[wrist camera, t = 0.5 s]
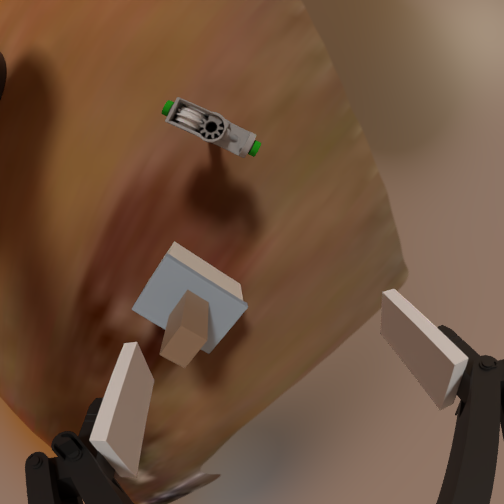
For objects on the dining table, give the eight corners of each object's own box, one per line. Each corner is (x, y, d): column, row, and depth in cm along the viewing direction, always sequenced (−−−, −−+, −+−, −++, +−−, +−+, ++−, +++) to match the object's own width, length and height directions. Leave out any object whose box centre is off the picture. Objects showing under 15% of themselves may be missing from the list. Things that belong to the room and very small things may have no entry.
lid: (134, 302, 38) (114, 346, 29) (168, 250, 36) (152, 285, 27) (209, 346, 41) (208, 395, 32) (246, 300, 39) (255, 345, 30)
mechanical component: (243, 160, 39) (251, 163, 29) (171, 126, 36) (156, 119, 27) (254, 139, 38) (265, 136, 29) (182, 106, 36) (170, 92, 26)
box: (145, 285, 43) (136, 305, 37) (174, 241, 41) (167, 256, 35) (209, 323, 46) (208, 347, 40) (240, 284, 44) (243, 303, 38)
